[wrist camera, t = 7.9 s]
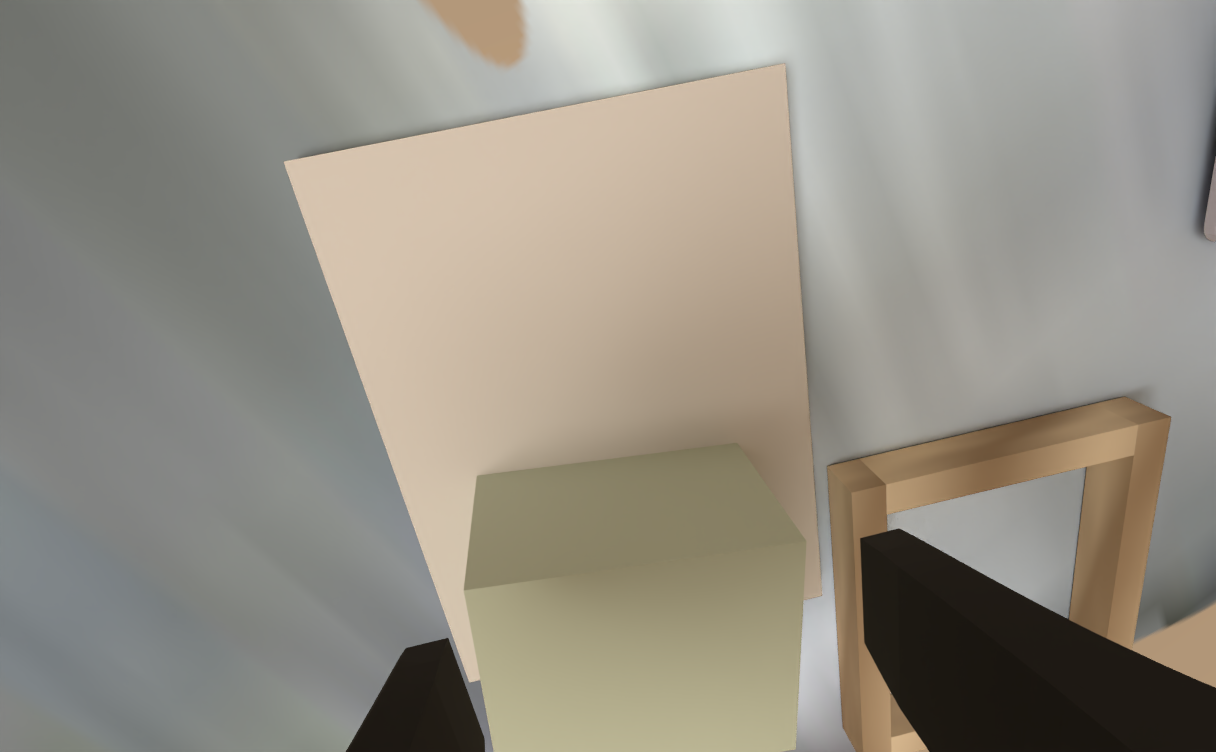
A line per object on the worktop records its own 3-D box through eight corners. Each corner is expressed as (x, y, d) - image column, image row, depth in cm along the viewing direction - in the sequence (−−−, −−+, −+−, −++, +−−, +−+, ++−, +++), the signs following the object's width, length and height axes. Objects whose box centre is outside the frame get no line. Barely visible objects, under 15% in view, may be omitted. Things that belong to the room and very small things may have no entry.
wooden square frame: (1124, 396, 20) (1171, 416, 18) (1088, 663, 24) (1123, 697, 22) (827, 466, 19) (851, 492, 18) (842, 727, 23) (863, 765, 22)
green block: (806, 541, 13) (463, 590, 13) (795, 749, 15) (503, 800, 15) (737, 442, 17) (476, 475, 17) (736, 617, 20) (506, 653, 19)
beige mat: (772, 66, 15) (785, 63, 14) (810, 578, 20) (822, 595, 20) (295, 160, 14) (283, 161, 13) (471, 661, 20) (469, 682, 19)
